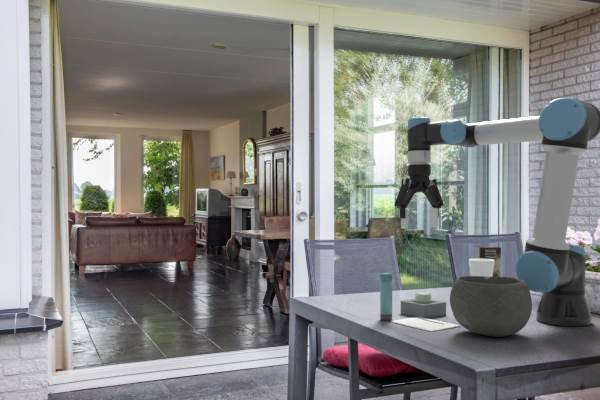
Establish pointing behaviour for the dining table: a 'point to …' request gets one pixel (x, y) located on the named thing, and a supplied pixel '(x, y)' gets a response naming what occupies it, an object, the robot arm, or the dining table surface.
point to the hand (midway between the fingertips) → (419, 228)
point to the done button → (423, 297)
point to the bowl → (491, 304)
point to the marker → (386, 296)
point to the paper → (425, 324)
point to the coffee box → (490, 257)
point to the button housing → (423, 308)
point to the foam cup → (481, 267)
